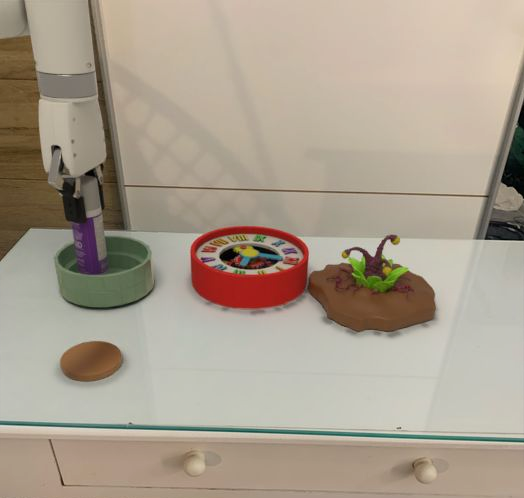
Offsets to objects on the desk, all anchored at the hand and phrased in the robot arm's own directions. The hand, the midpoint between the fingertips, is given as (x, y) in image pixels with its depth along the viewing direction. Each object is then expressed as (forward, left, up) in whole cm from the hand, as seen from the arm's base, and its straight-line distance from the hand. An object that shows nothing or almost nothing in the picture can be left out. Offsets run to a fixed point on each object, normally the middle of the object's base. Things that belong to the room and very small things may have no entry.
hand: (85, 213), depth 85 cm
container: (0, 0, -10) cm, 10 cm away
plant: (+45, +11, -13) cm, 48 cm away
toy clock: (+23, +11, -13) cm, 29 cm away
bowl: (+1, +1, -13) cm, 13 cm away
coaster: (+9, -19, -13) cm, 25 cm away
